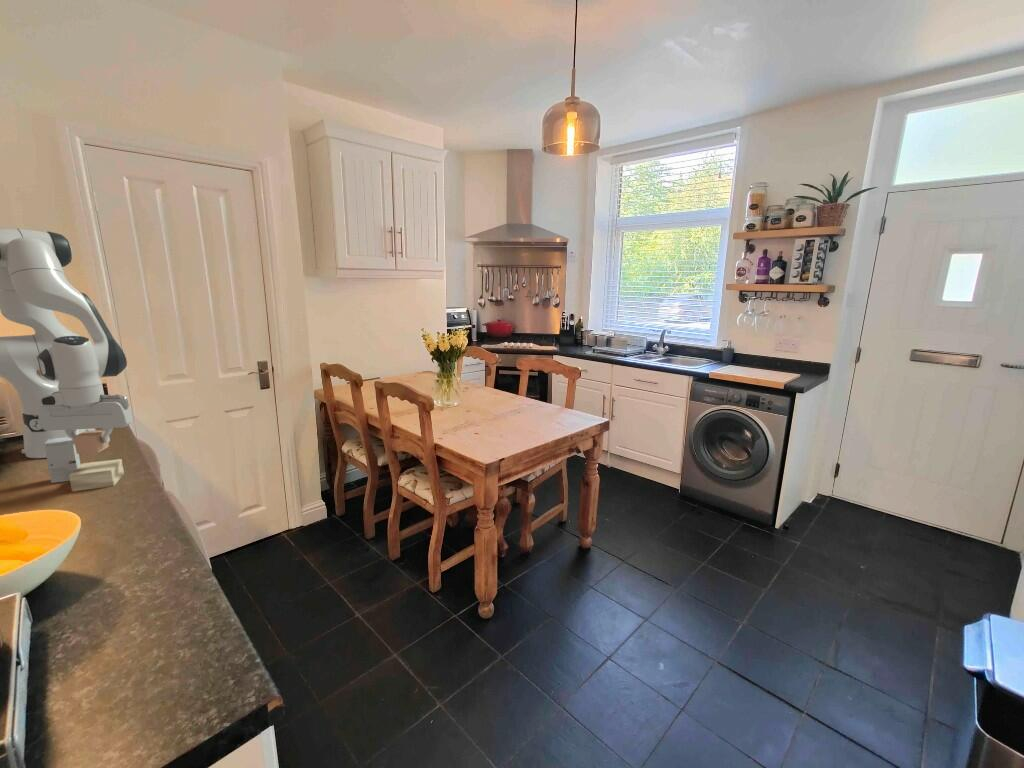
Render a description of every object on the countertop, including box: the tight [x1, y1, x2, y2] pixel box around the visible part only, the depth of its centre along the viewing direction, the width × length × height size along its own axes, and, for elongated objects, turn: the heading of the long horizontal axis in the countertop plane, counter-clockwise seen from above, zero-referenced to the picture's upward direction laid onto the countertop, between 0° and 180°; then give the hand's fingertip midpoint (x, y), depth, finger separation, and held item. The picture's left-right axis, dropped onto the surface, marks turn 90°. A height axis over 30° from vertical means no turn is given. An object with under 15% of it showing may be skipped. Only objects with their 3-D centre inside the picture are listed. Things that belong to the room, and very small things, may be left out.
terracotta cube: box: [73, 429, 110, 455], centre depth 127 cm, size 5×5×5 cm
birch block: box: [69, 458, 125, 492], centre depth 129 cm, size 9×9×5 cm
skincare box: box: [44, 437, 81, 484], centre depth 130 cm, size 6×4×12 cm
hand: (92, 443), depth 127 cm, fingers closed on terracotta cube, 5 cm apart
